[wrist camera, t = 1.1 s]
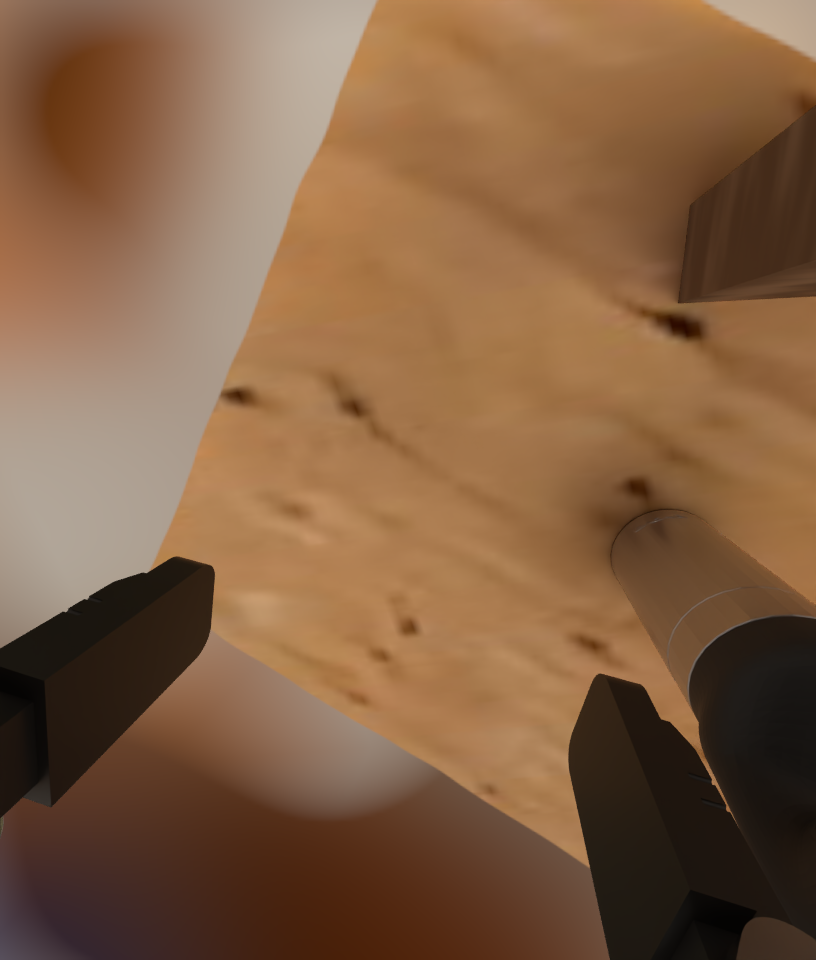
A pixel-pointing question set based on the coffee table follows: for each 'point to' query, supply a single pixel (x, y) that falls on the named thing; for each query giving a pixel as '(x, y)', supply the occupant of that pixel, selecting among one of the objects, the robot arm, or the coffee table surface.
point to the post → (757, 225)
